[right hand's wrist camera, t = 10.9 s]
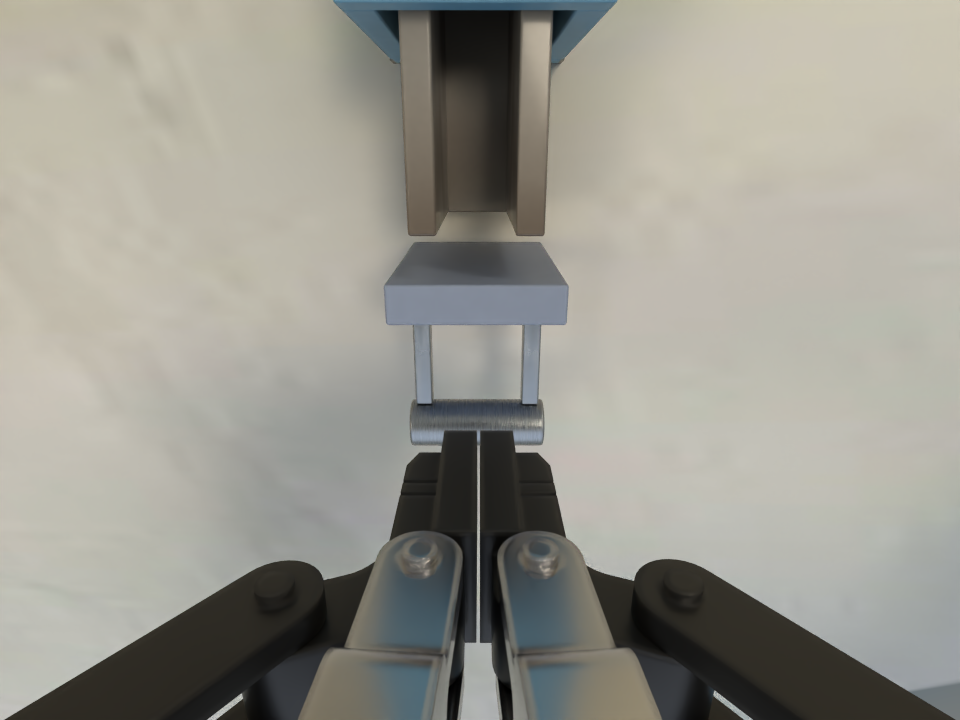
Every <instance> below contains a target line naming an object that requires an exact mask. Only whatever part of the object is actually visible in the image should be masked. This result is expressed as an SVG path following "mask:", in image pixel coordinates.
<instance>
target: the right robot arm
mask: <svg viewBox="0 0 960 720" xmlns="http://www.w3.org/2000/svg"><path fill="white" fill-rule="evenodd" d="M476 613H477V430H444V435H443V443H442V451H441V453H419V454H418V455H417V456H416V457H415V458H414V459H413V460H412V461H411V462H410V463H409V464H408V465H407V467H406V472H405V476H404V483H403V485H402V489H401V495H400V498H399V502H398V506H397V511H396V515H395V519H394V524H393V528H392V532H391V536H390V541H389V542H387V543H386V544H385V545H384V546H383V547H382V549H381V550H380V551H379V553H378V555H377V558H376V561H375V562H374V563H372V564H371V565H369V566H368V567H366V568H364V569H362V570H360V571H357V572H355V573H351V574H348V575H344V576H340V577H336V578H332V579H327V580H323V577H322V575H321V573H320V572H319V570H317V569H316V568H315V567H314V566H312V565H310V564H308V563H305V562H301V561H290V560H288V561H279V562H274V563H270V564H267V565H264V566H261V567H259V568H257V569H255V570H253V571H251V572H249V573H247V574H246V575H244V576H243V577H241V578H239V579H238V580H236V581H234V582H233V583H231V584H229V585H228V586H226V587H224V588H223V589H221V590H219V591H218V592H216V593H214V594H213V595H211V596H209V597H208V598H206V599H204V600H203V601H201V602H199V603H198V604H196V605H194V606H193V607H191V608H189V609H188V610H186V611H184V612H183V613H181V614H179V615H178V616H176V617H174V618H173V619H171V620H169V621H168V622H166V623H164V624H163V625H161V626H159V627H158V628H156V629H154V630H153V631H151V632H150V633H148V634H146V635H145V636H143V637H141V638H140V639H138V640H136V641H135V642H133V643H131V644H130V645H128V646H126V647H125V648H123V649H121V650H120V651H118V652H116V653H115V654H113V655H111V656H110V657H108V658H106V659H105V660H103V661H101V662H100V663H98V664H96V665H95V666H93V667H91V668H90V669H88V670H86V671H85V672H83V673H81V674H80V675H78V676H76V677H75V678H73V679H71V680H70V681H68V682H66V683H65V684H63V685H61V686H60V687H58V688H56V689H55V690H53V691H52V692H50V693H48V694H47V695H45V696H43V697H42V698H40V699H38V700H37V701H35V702H33V703H32V704H30V705H28V706H27V707H25V708H23V709H22V710H20V711H18V712H17V713H15V714H13V715H12V716H10V717H8V718H7V719H5V720H207V719H208V718H210V717H211V716H212V715H214V714H215V713H216V712H217V711H219V710H220V709H221V708H223V707H224V706H225V705H227V704H228V703H229V702H231V701H232V700H233V699H234V698H236V697H237V696H238V695H240V694H241V693H242V695H243V699H242V700H241V701H240V702H238V703H237V704H236V705H235V706H233V707H232V708H231V709H229V710H228V711H227V712H226V713H224V714H223V715H222V716H220V717H219V718H218V719H217V720H460V719H461V711H462V702H463V693H464V645H465V643H476ZM480 643H492V664H493V669H494V672H495V674H496V693H497V702H498V711H499V719H500V720H743V719H742V718H741V717H740V716H738V715H737V714H736V713H734V712H733V711H732V710H731V709H729V708H728V707H727V706H725V705H724V704H723V703H722V702H720V701H719V700H718V699H716V698H715V697H714V696H713V694H714V690H715V691H716V692H718V693H719V694H720V695H722V696H723V697H724V698H726V699H727V700H728V701H729V702H731V703H732V704H733V705H735V706H736V707H737V708H739V709H740V710H741V711H743V712H744V713H745V714H746V715H748V716H749V717H750V718H752V719H753V720H955V719H953V718H952V717H950V716H948V715H947V714H945V713H943V712H942V711H940V710H938V709H937V708H935V707H933V706H932V705H930V704H928V703H927V702H925V701H923V700H922V699H920V698H918V697H917V696H915V695H913V694H912V693H910V692H908V691H907V690H905V689H903V688H902V687H900V686H899V685H897V684H895V683H894V682H892V681H890V680H889V679H887V678H885V677H884V676H882V675H880V674H879V673H877V672H875V671H874V670H872V669H870V668H869V667H867V666H865V665H864V664H862V663H860V662H859V661H857V660H855V659H854V658H852V657H850V656H849V655H847V654H845V653H844V652H842V651H840V650H839V649H837V648H835V647H834V646H832V645H830V644H829V643H827V642H825V641H824V640H822V639H820V638H819V637H817V636H815V635H814V634H812V633H810V632H809V631H807V630H805V629H804V628H802V627H801V626H799V625H797V624H796V623H794V622H792V621H791V620H789V619H787V618H786V617H784V616H782V615H781V614H779V613H777V612H776V611H774V610H772V609H771V608H769V607H767V606H766V605H764V604H762V603H761V602H759V601H757V600H756V599H754V598H752V597H751V596H749V595H747V594H746V593H744V592H742V591H741V590H739V589H737V588H736V587H734V586H732V585H731V584H729V583H727V582H726V581H724V580H722V579H721V578H719V577H717V576H716V575H714V574H712V573H711V572H709V571H707V570H706V569H704V568H702V567H700V566H697V565H695V564H692V563H689V562H686V561H681V560H673V559H662V560H656V561H652V562H649V563H647V564H645V565H644V566H642V567H641V568H640V569H639V570H638V572H637V573H636V576H635V579H634V581H632V580H628V579H623V578H619V577H615V576H611V575H607V574H604V573H601V572H598V571H596V570H594V569H592V568H590V567H588V566H586V564H585V561H584V558H583V555H582V553H581V551H580V550H579V549H578V547H577V546H576V545H575V544H574V543H573V542H571V541H570V540H568V539H567V538H566V535H565V531H564V526H563V522H562V517H561V513H560V508H559V504H558V499H557V496H556V490H555V486H554V483H553V477H552V472H551V468H550V465H549V464H548V463H547V462H546V461H545V460H544V459H543V458H542V457H541V456H540V455H539V454H538V453H516V452H515V443H514V435H513V430H480Z"/></svg>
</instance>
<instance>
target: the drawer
mask: <svg viewBox="0 0 960 720" xmlns="http://www.w3.org/2000/svg"><path fill="white" fill-rule="evenodd" d="M398 21H399V43H400V66H401V88H402V111H403V133H404V156H405V179H406V201H407V224H408V234H409V235H410V236H435V235H436V234H437V232H438V230H439V228H440V226H441V224H442V222H443V220H444V218H445V216H446V214H447V212H507V214H508V216H509V219H510V221H511V223H512V226H513V228H514V231H515V233H516V235H517V236H543V235H544V233H545V208H546V183H547V157H548V132H549V106H550V81H551V55H552V30H553V10H398ZM568 289H569V287H568V284H567V283H566V281H565V280H564V278H563V277H562V275H561V274H560V272H559V270H558V269H557V267H556V266H555V264H554V263H553V261H552V260H551V258H550V257H549V255H548V253H547V252H546V250H545V249H544V247H543V246H542V244H541V243H540V242H415V243H414V244H413V245H412V247H411V248H410V250H409V251H408V252H407V254H406V255H405V257H404V258H403V260H402V261H401V262H400V264H399V265H398V267H397V268H396V270H395V271H394V272H393V274H392V275H391V277H390V278H389V280H388V281H387V282H386V284H385V286H384V296H385V312H386V323H387V324H388V325H413V341H414V363H415V386H416V399H414V400H413V401H412V403H411V410H410V438H411V443H412V445H442V443H443V435H444V430H477V445H480V430H513V435H514V443H515V445H542V444H543V440H544V408H543V402H542V400H540V399H538V391H539V366H540V340H541V325H565V324H566V323H567V306H568ZM432 325H522V361H521V399H434V388H433V356H432Z"/></svg>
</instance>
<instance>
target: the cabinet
mask: <svg viewBox="0 0 960 720" xmlns="http://www.w3.org/2000/svg"><path fill="white" fill-rule="evenodd" d="M333 1H334V3H335V4H336V5H337V6H338V7H339V8H340V9H342V11H343V12H344V13H345V14H346V15H347V16H348V17H349V18H350V19H351V20H352V21H353V22H354V23H355V24H356V25H357V26H358V27H359V28H360V29H361V30H362V31H363V32H364V33H365V34H366V35H367V36H368V37H369V38H370V39H371V40H372V41H373V42H374V43H375V44H376V45H377V46H378V47H379V48H380V49H381V50H382V51H383V52H384V53H385V54H386V55H387V56H388V57H389V58H390V60H391V61H392V62H393V63H400V43H399V21H398V10H553V30H552V55H551V63H562V62H563V61H564V58H565V57H566V56H567V55H568V54H569V52H570V51H571V50H572V49H573V48H574V47H575V46H576V45H577V44H578V43H579V42H580V41H581V40H582V38H583V37H584V36H585V35H586V34H587V33H588V32H589V31H590V30H591V29H592V28H593V27H594V26H595V25H596V23H597V22H598V21H599V20H600V19H601V18H602V17H603V16H604V15H605V14H606V13H607V12H608V11H609V9H611V8H612V7H613V5H614V4H615V3H616V2H617V0H333Z"/></svg>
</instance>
